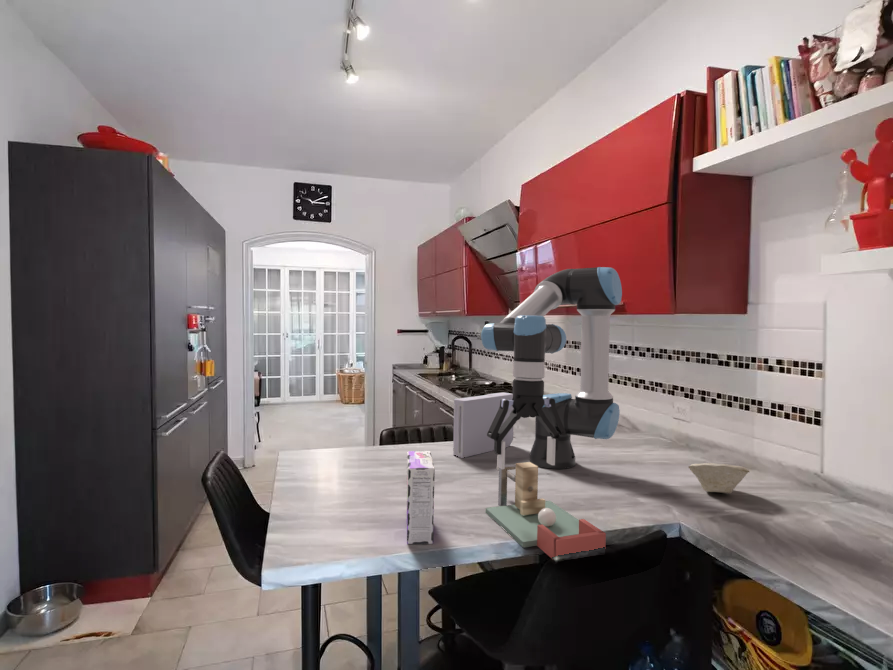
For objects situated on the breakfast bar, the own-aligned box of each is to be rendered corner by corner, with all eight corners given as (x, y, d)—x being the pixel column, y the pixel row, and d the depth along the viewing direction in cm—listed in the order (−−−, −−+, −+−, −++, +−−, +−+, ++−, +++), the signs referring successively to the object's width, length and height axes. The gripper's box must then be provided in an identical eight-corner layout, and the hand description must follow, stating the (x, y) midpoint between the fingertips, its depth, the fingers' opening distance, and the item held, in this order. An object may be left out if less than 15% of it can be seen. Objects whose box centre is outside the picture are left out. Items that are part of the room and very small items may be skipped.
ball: (550, 521, 115) (550, 504, 115) (559, 528, 111) (559, 510, 111) (534, 523, 114) (534, 506, 114) (543, 530, 110) (543, 512, 110)
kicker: (508, 485, 138) (509, 447, 138) (545, 512, 119) (546, 468, 119) (488, 487, 136) (489, 449, 136) (522, 515, 117) (523, 470, 117)
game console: (450, 455, 175) (451, 398, 175) (501, 443, 194) (502, 392, 193) (462, 458, 171) (463, 400, 171) (513, 445, 190) (514, 393, 189)
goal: (583, 538, 109) (583, 518, 109) (605, 554, 102) (605, 533, 101) (537, 545, 105) (537, 525, 105) (556, 562, 98) (556, 540, 98)
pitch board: (549, 505, 129) (549, 500, 129) (596, 536, 110) (596, 531, 110) (485, 512, 123) (485, 507, 123) (523, 547, 104) (523, 542, 104)
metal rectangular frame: (524, 502, 131) (525, 463, 130) (527, 504, 129) (528, 465, 129) (498, 505, 128) (499, 465, 128) (500, 507, 127) (501, 467, 126)
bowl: (741, 488, 144) (742, 454, 144) (754, 505, 131) (755, 467, 131) (684, 482, 149) (685, 449, 149) (691, 497, 136) (692, 461, 135)
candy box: (406, 518, 118) (406, 450, 118) (430, 518, 119) (431, 450, 118) (406, 545, 105) (407, 467, 104) (434, 544, 105) (435, 467, 105)
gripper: (564, 376, 129) (562, 458, 129) (475, 377, 121) (472, 464, 121) (581, 379, 121) (579, 466, 122) (487, 381, 113) (485, 473, 114)
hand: (526, 465), depth 121 cm, fingers open, 13 cm apart
